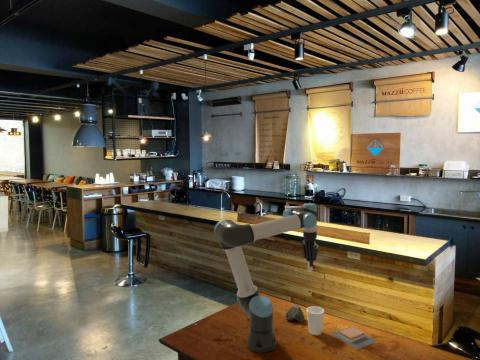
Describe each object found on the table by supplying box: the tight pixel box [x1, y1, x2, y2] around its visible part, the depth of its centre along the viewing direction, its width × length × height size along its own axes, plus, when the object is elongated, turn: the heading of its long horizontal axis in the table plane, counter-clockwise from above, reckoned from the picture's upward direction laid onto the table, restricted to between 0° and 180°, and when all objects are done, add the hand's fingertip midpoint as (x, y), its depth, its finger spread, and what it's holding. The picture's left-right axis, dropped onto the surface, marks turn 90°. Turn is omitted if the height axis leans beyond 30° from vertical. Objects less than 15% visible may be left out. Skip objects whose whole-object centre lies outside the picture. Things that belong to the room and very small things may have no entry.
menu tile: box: [338, 326, 365, 342], centre depth 196 cm, size 10×2×8 cm
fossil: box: [285, 304, 305, 323], centre depth 218 cm, size 11×9×10 cm
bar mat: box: [330, 326, 378, 350], centre depth 195 cm, size 15×18×1 cm
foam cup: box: [306, 305, 325, 336], centre depth 200 cm, size 10×9×13 cm
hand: (309, 271), depth 212 cm, fingers closed
